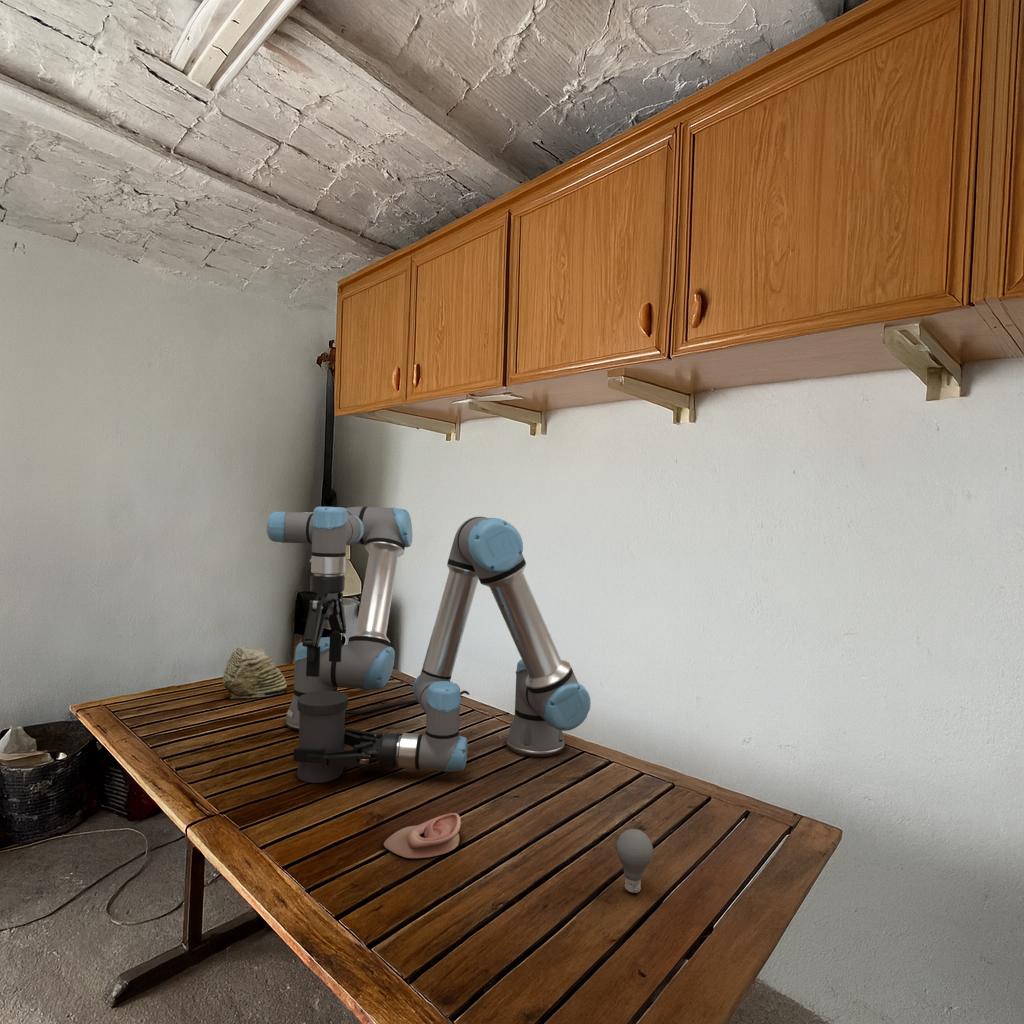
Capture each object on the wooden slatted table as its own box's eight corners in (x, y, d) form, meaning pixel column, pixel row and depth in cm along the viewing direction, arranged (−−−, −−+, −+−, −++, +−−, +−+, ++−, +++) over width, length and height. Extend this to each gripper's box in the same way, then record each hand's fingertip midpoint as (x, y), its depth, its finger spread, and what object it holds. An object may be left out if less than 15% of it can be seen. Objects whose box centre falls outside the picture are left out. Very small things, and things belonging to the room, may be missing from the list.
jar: (351, 773, 146) (354, 700, 145) (312, 787, 138) (315, 710, 138) (327, 760, 152) (329, 690, 152) (288, 772, 145) (291, 699, 144)
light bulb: (610, 879, 108) (613, 822, 108) (644, 879, 109) (647, 822, 109) (619, 902, 102) (622, 840, 102) (655, 901, 103) (658, 840, 103)
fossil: (218, 695, 195) (220, 647, 195) (278, 685, 208) (279, 640, 207) (228, 703, 189) (230, 653, 188) (289, 692, 201) (290, 645, 201)
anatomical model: (377, 831, 113) (401, 802, 124) (376, 853, 113) (400, 822, 124) (448, 842, 110) (466, 811, 122) (447, 865, 111) (465, 832, 122)
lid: (358, 707, 145) (358, 698, 145) (314, 718, 137) (314, 709, 137) (330, 696, 153) (330, 687, 153) (287, 706, 144) (287, 697, 144)
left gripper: (332, 568, 157) (329, 654, 157) (288, 579, 132) (284, 682, 133) (361, 569, 156) (358, 656, 156) (322, 582, 132) (318, 684, 132)
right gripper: (387, 789, 133) (282, 783, 134) (408, 747, 156) (318, 742, 156) (388, 754, 133) (284, 748, 134) (409, 717, 156) (320, 712, 156)
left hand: (324, 668), depth 145 cm, fingers open, 12 cm apart
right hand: (302, 745), depth 145 cm, fingers closed on jar, 10 cm apart
